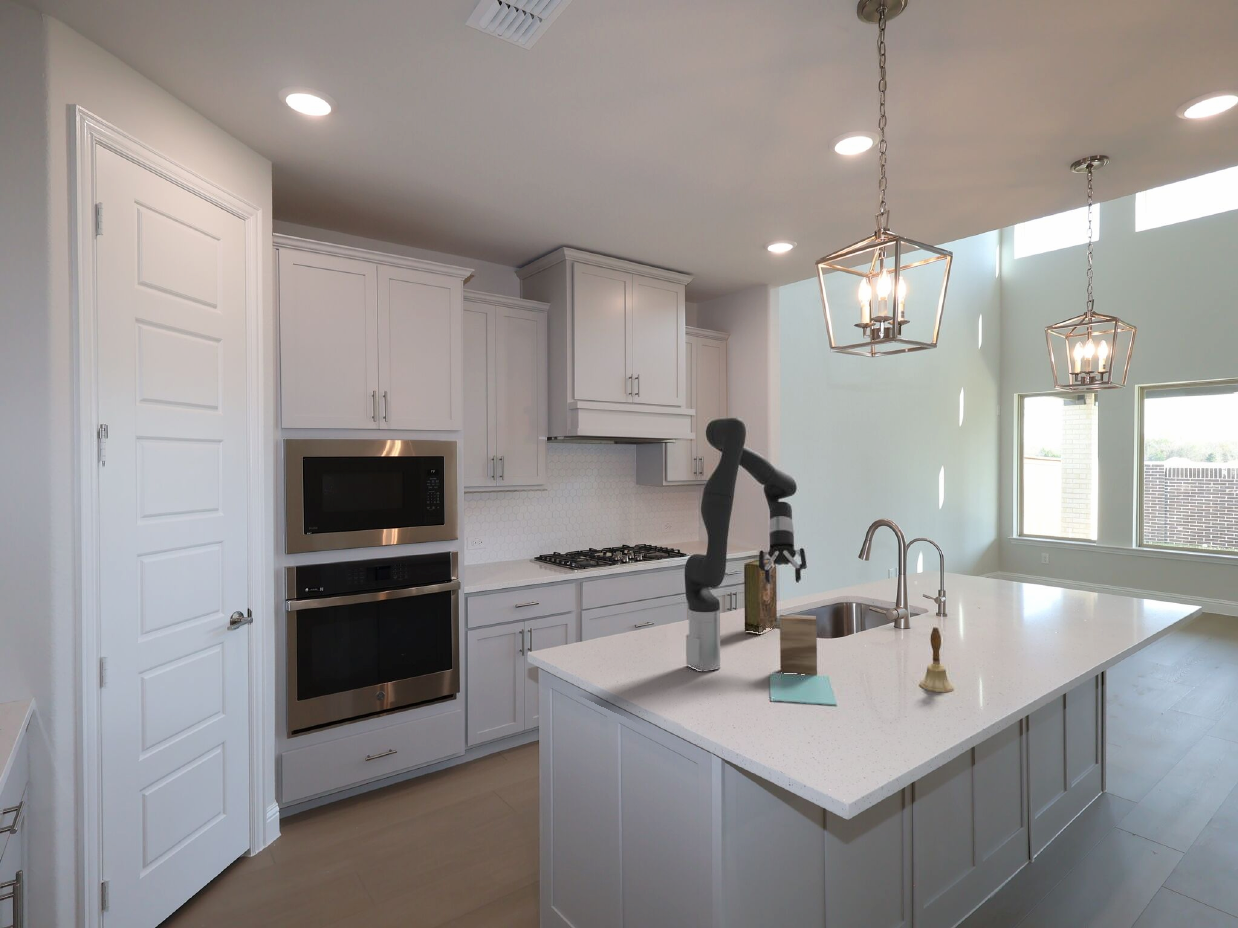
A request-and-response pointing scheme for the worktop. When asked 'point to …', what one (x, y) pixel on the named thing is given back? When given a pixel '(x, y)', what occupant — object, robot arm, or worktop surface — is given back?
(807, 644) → the block
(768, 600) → the book
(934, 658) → the hand bell
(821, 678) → the mat
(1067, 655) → the worktop surface
